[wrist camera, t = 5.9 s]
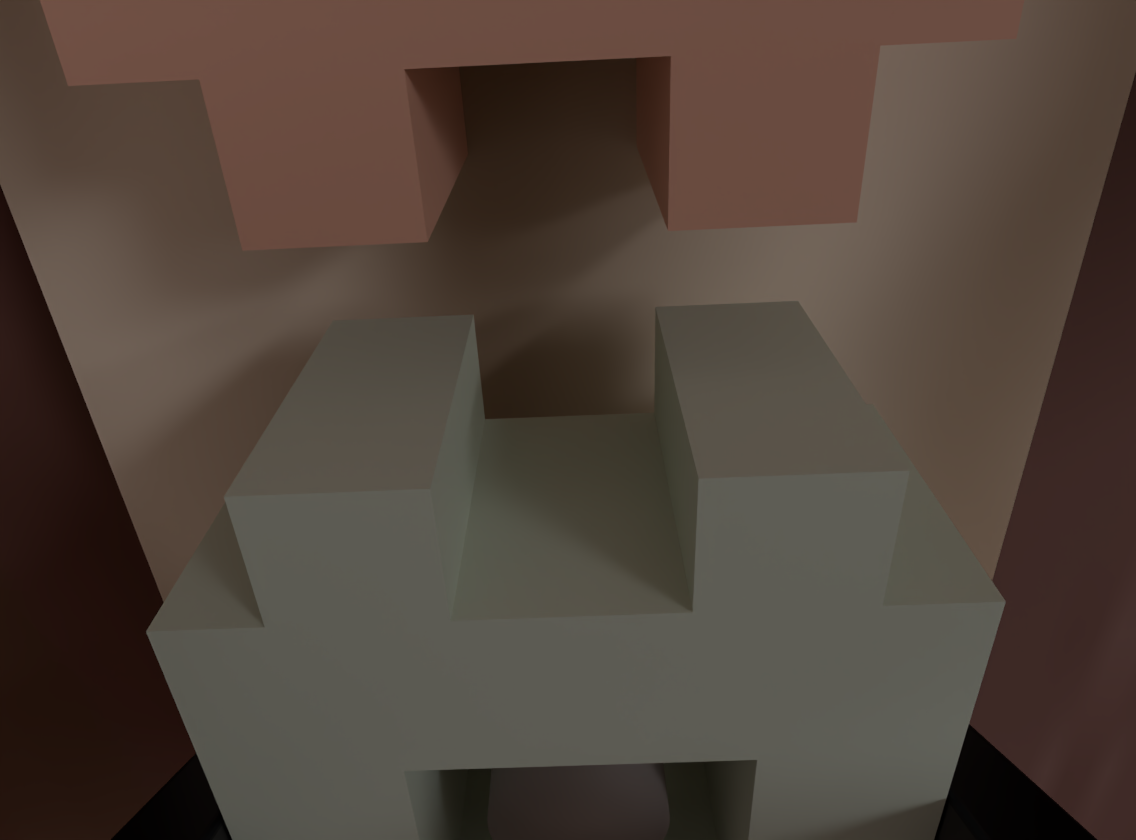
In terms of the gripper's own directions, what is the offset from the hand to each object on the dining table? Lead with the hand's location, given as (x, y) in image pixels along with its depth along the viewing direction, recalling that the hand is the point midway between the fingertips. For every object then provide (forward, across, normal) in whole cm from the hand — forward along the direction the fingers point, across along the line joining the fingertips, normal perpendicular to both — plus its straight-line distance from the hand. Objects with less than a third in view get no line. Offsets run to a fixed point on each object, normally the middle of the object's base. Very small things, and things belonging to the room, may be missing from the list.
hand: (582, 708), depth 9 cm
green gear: (+1, 0, 0) cm, 1 cm away
